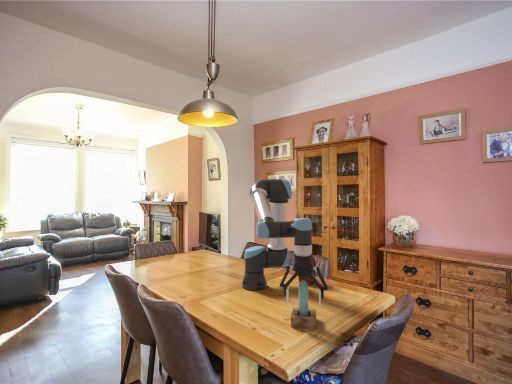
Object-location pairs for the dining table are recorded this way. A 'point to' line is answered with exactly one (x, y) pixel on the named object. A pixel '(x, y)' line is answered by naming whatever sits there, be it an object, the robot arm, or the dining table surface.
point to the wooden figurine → (308, 279)
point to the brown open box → (303, 319)
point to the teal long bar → (303, 298)
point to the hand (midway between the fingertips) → (303, 304)
